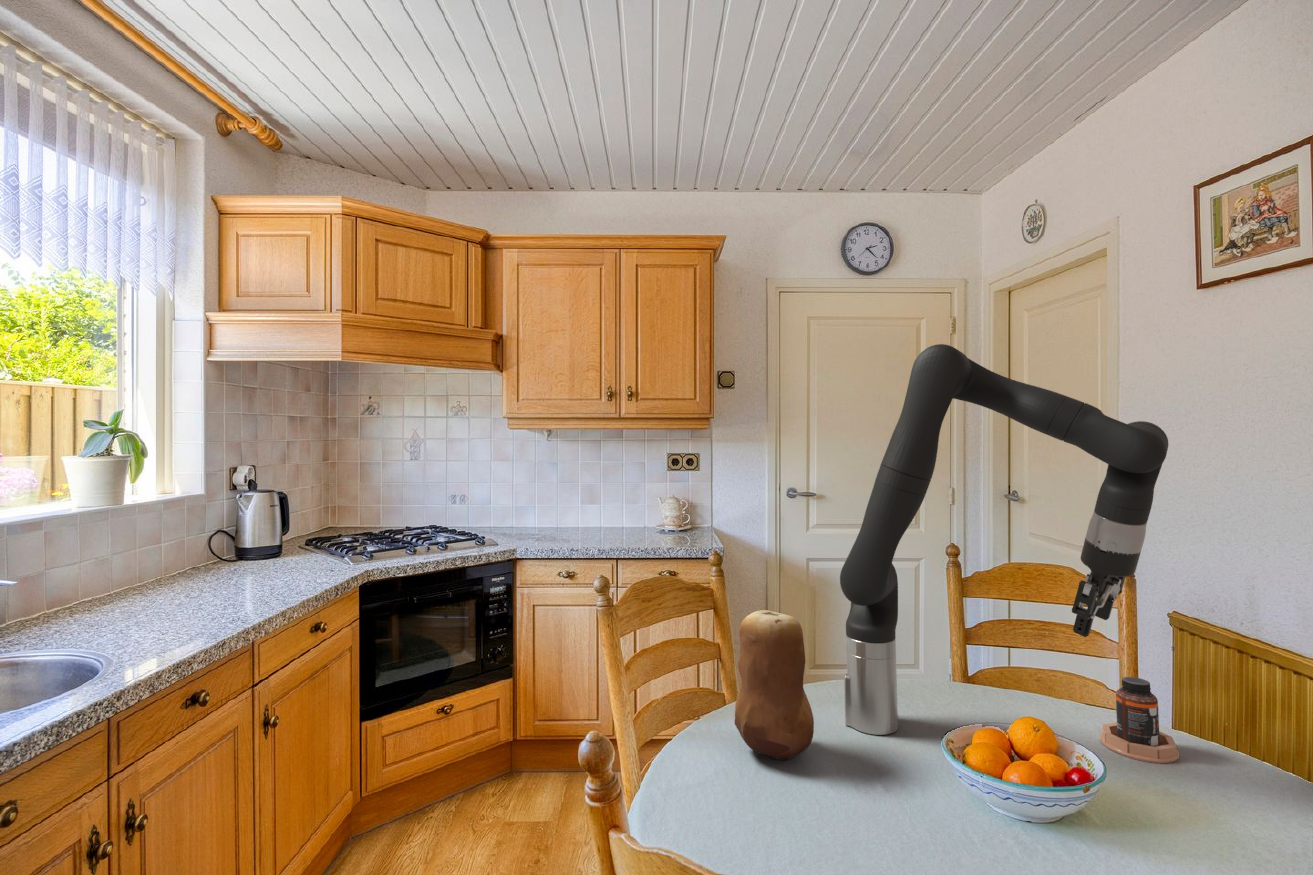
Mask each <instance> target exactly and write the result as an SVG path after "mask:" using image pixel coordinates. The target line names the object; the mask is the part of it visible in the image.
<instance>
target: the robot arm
mask: <svg viewBox="0 0 1313 875" xmlns="http://www.w3.org/2000/svg"><path fill="white" fill-rule="evenodd" d="M953 399H954V400H958V401H963V402H967V403H971V404H974V405H977V406H980V407H983V408H985V409H989V410H992V411H993V412H996V413H999V414H1001V415H1003V416H1005V417H1007V418H1010V419H1011V420H1013V421H1015V422H1016V423H1017V422H1018V423H1019V424H1021V425H1023V426H1026V427H1028V428H1030V429H1032V430H1034V431H1037V432H1039V433H1042V434H1044V435H1047V436H1049V437H1052V438H1054V439H1056V440H1059V441H1061V442H1064V443H1067V444H1070V445H1073V446H1076V447H1077V448H1079V449H1080V450H1082V451H1084V452H1085V453H1087V454H1089V455H1090V456H1092V457H1095V459H1098V460H1099V461H1102V462H1103V463H1105V464H1107V470H1106V474H1105V477H1104V480H1103V482H1102V484H1101V486H1100V487H1099V491H1098V494H1097V496H1096V501H1095V506H1094V509H1093V513H1092V515H1091V518H1090V520H1089V523H1088V526H1087V530H1086V533H1085V534H1086V535H1085V538H1084V541H1083V547H1082V550H1081V554H1080V561H1081V562H1082V564H1083V565H1084V566H1086V567H1087V568H1088V569H1090V572H1089V573H1087V574H1086V576H1085V578H1084V579H1083V580H1080V581H1079V583H1078V588H1077V590H1076V595H1075V598H1074V601H1073V604H1072V605H1073V606H1072V608H1071V613H1072V614H1076V617H1075V620H1074V624H1073V628H1072V631H1073V633H1075V634H1077V635H1079V636H1082V637H1084V638H1087V637H1088V636H1089V635H1090V633H1091V629H1092V626H1093V624H1094V623H1093V622H1094V618H1095V617H1097V618H1099V619H1100V620H1101V619H1102V620H1104V621H1107V620H1109V619H1110V616H1111V613H1112V610H1113V606H1114V603H1115V602H1116V600H1117V599H1118V595H1121V594H1122V593H1123V587H1124V583H1125V581H1126V578H1127V577H1130V576H1132V575H1134V574H1135V572H1136V570H1137V568H1138V567H1137V566H1138V563H1139V560H1140V557H1141V556H1140V555H1141V553H1142V549H1143V546H1144V542H1145V538H1146V535H1147V534H1146V532H1147V525H1148V521H1149V518H1150V517H1149V516H1150V514H1151V509H1152V506H1153V502H1154V501H1153V500H1154V493H1155V488H1156V487H1155V486H1156V484H1157V480H1158V477H1159V475H1160V472H1161V470H1162V465H1163V463H1164V461H1165V460H1166V458H1167V453H1168V449H1169V439H1168V435H1167V434H1166V432H1165V431H1164V430H1163V429H1162V428H1161V427H1159V425H1157V424H1155V423H1152V422H1149V421H1144V420H1142V421H1141V420H1139V421H1133V422H1130V423H1125V422H1123V421H1120V420H1117V419H1115V418H1112V417H1111V416H1108V415H1106V414H1105V413H1103V411H1102V410H1101V409H1100V408H1098V407H1096V406H1094V405H1092V404H1089V403H1087V402H1084V401H1081V400H1079V399H1075V398H1073V397H1070V396H1068V395H1065V394H1062V393H1058V392H1055V391H1053V390H1051V389H1046V388H1043V387H1040V386H1036V385H1031V384H1029V383H1025V382H1021V381H1018V380H1015V379H1011V378H1009V377H1006V376H1004V375H1001V374H999V373H996V372H994V371H992V370H990V369H988V368H986V367H985V366H982V365H980V364H979V363H977V362H975V361H973V360H972V359H970V358H968V357H967V355H966V354H965V353H964V352H962V351H960V350H959V349H957V348H955V347H954V346H951V345H949V344H945V343H944V344H943V343H941V344H939V343H938V344H934V345H931V346H928V347H926V348H925V349H924V350H923V351H921V352H920V353H919V354H918V355H917V357H916V359H915V360H914V361H913V364H912V368H911V371H910V376H909V380H908V383H907V389H906V393H905V398H904V403H903V406H902V409H901V413H900V416H899V418H898V420H897V423H896V425H895V427H894V429H893V432H892V434H891V437H890V439H889V442H888V444H887V447H886V450H885V452H884V456H883V458H882V459H881V463H880V465H879V469H878V471H877V474H876V477H875V480H874V484H873V488H872V490H871V493H870V496H869V500H868V502H867V506H866V509H865V512H864V516H863V520H862V522H861V526H860V529H859V532H858V534H857V536H856V538H855V541H854V543H853V545H852V547H851V549H850V551H849V554H848V556H847V557H846V560H845V561H844V563H843V565H842V567H841V571H840V575H839V585H840V588H841V591H842V593H843V595H844V597H845V598H846V599H847V600H848V601H849V602H850V608H849V612H848V616H847V619H846V621H845V640H846V641H845V642H846V645H845V646H846V648H845V650H846V674H845V675H844V679H843V681H844V713H845V714H844V715H845V716H844V717H845V722H844V723H845V726H847V727H851V728H853V729H855V730H857V731H859V732H861V733H864V734H870V735H874V736H875V735H876V736H877V735H879V736H883V735H885V736H887V735H890V734H894V733H895V732H897V731H898V729H899V722H898V721H899V713H898V711H899V710H898V679H897V677H898V676H897V643H896V641H897V639H896V632H897V631H896V630H897V624H898V619H899V583H898V581H899V580H898V574H897V570H896V568H895V566H894V564H893V560H894V557H895V554H896V550H897V548H898V545H899V543H900V541H901V539H902V538H903V536H904V534H905V533H906V531H907V530H908V528H909V526H910V524H912V522H913V520H914V518H915V517H916V515H917V513H918V511H919V510H920V508H921V505H922V504H923V502H924V499H925V498H926V494H927V492H928V489H929V486H930V485H931V484H930V483H931V480H932V477H933V475H934V471H935V469H936V462H937V456H938V449H939V440H940V439H939V438H940V434H941V429H942V425H943V422H944V419H945V416H946V414H947V412H948V410H949V407H950V405H951V403H952V401H953ZM1085 605H1086V606H1087V608H1086V607H1084V606H1085Z"/></svg>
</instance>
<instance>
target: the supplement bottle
mask: <svg viewBox="0 0 1313 875" xmlns="http://www.w3.org/2000/svg"><path fill="white" fill-rule="evenodd" d="M1151 690H1152V688H1151V683H1150V682H1149V681H1148V680H1146V679H1144V678H1140V677H1133V676H1124V677H1122V678H1121V687H1120V688H1119V689H1117V690H1116V691H1115V706H1116V708H1115V709H1116V713H1115V714H1116V722H1117V734H1118V737H1119V738H1121V739H1124V740H1126V741H1128V742H1130V743H1136V744H1141V745H1147V746H1152V747H1156V746H1160V738H1159V732H1160V719H1159V717H1160V715H1159V701H1158V698H1157V696H1156V695H1155V694H1153V693H1152V691H1151Z"/></svg>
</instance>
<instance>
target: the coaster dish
mask: <svg viewBox="0 0 1313 875" xmlns="http://www.w3.org/2000/svg"><path fill="white" fill-rule="evenodd" d="M1101 730H1102V732H1101V733H1100V735H1099V737H1100V738H1099V739H1100V742H1101V744H1102V745H1103V746H1104V747H1105V748H1107V749H1108V750H1109V751H1111V752H1114V753H1116V754H1118V755H1121V756H1124V757H1126V758H1129V759H1133V760H1137V761H1141V762H1147V763H1151V764H1171V763H1175V762H1177V761H1179V759H1180V751H1179V750H1178V746H1177V743H1176V742H1175V740H1174V738H1173V736H1171V735H1169V734H1166V733H1165V732H1162V731H1159V738H1160V746H1156V747H1152V746H1147V745H1141V744H1136V743H1130V742H1128V741H1126V740H1124V739H1121V738H1119V737H1118V734H1117V721H1115V722H1110V723H1104V724H1102V727H1101Z"/></svg>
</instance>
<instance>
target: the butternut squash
mask: <svg viewBox="0 0 1313 875" xmlns="http://www.w3.org/2000/svg"><path fill="white" fill-rule="evenodd" d="M804 641H805V640H804V632H803V628H802V625H801V623H800V621H798V620H797V618H795V617H793V616H792V615H788V614H785V613H782V612H781V613H780V612H777V611H772V610H770V609H769V610H767V609H762V610H756V611H754V612H753V611H752V612H751V613H750V614H748V615H747V616H746V617H744V618H743V620H742V621H741V624H740V626H739V644H740V645H739V646H740V647H739V654H740V655H739V659H738V663H737V668H738V672H739V675H740V680H741V681H740V686H739V691H738V692H737V695H736V700H735V706H734V707H735V708H734V725H735V727H736V730H737V731H738V733H739V734H740V737H741V739H742V740H743V741H744V743H745V744H746V745H747V747H749V749H750V750H752V751H753V752H756V753H758V754H761V755H765V756H767V757H770V758H771V759H772V758H773V759H772V760H775V759H780V760H779V761H781V760H782V761H783V760H784V761H788V760H789V759H790V758H792V757H795V756H797V755H800V754H802V753H803V752H805V751H806V750H807V749H808V748H809V746H811V743H812V741H813V738H814V733H815V732H814V730H815V725H814V724H815V721H814V719H815V718H814V714H813V710H812V707H811V704H810V702H809V699H808V696H807V694H806V691H805V689H804V674H805V670H806V669H805V668H806V652H805V651H806V650H805V642H804Z"/></svg>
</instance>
